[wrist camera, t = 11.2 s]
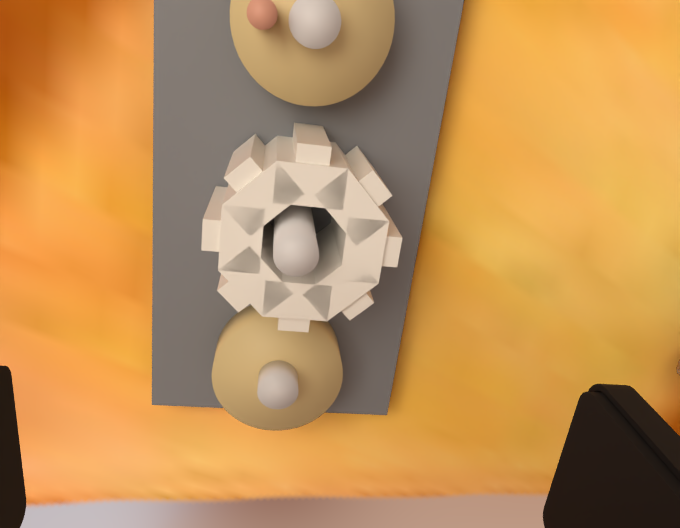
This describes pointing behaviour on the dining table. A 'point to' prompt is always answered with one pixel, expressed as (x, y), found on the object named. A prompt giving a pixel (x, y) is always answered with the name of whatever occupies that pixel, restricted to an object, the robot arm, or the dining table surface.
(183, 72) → the gear board
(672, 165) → the dining table surface
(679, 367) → the brown duck figurine
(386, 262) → the loose gear
